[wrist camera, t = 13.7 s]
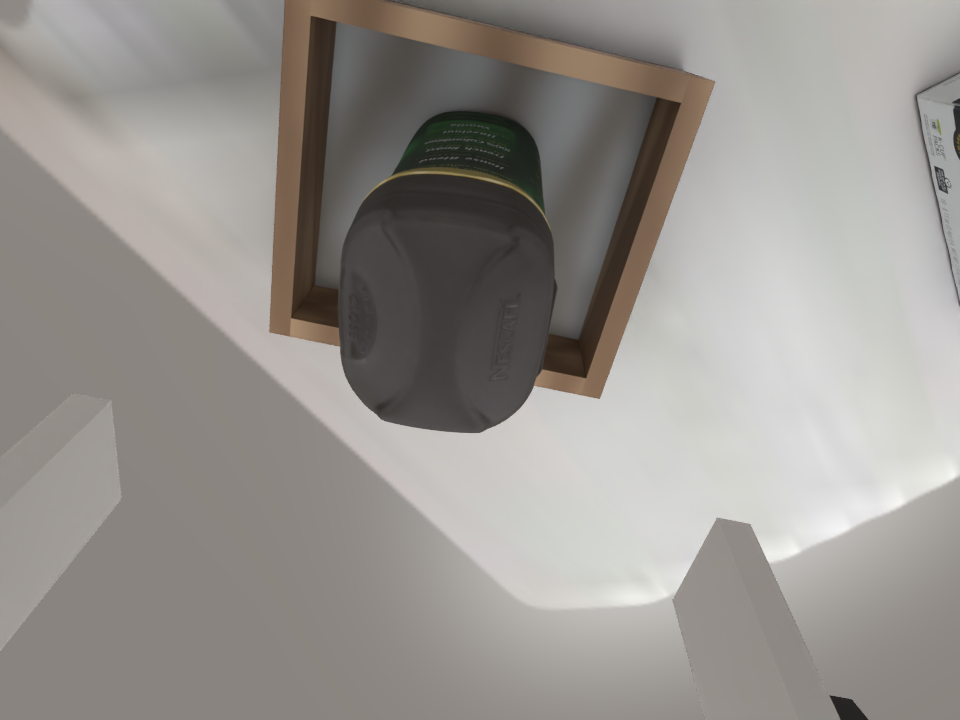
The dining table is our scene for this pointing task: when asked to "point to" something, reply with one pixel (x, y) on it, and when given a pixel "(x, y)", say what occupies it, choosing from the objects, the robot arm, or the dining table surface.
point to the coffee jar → (450, 278)
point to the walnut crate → (491, 90)
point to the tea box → (945, 157)
